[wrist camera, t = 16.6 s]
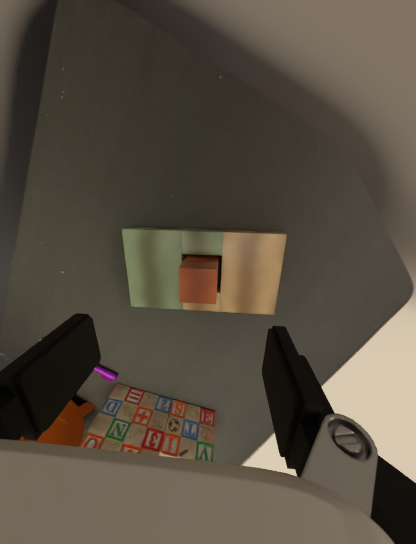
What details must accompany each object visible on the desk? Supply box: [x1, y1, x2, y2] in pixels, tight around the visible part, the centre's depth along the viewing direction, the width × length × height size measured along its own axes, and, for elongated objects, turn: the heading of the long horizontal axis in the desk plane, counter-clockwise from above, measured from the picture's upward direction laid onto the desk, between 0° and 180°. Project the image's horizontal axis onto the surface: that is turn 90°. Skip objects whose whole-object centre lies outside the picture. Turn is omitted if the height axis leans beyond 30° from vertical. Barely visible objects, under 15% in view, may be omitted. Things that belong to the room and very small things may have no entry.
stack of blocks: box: [79, 383, 215, 462], centre depth 35 cm, size 21×6×12 cm, turn 74°
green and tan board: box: [122, 227, 287, 315], centre depth 29 cm, size 22×12×2 cm, turn 89°
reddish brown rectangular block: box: [179, 254, 219, 304], centre depth 27 cm, size 5×5×7 cm
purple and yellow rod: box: [39, 339, 117, 382], centre depth 38 cm, size 3×1×16 cm
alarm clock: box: [19, 400, 95, 447], centre depth 33 cm, size 13×6×20 cm, turn 47°
